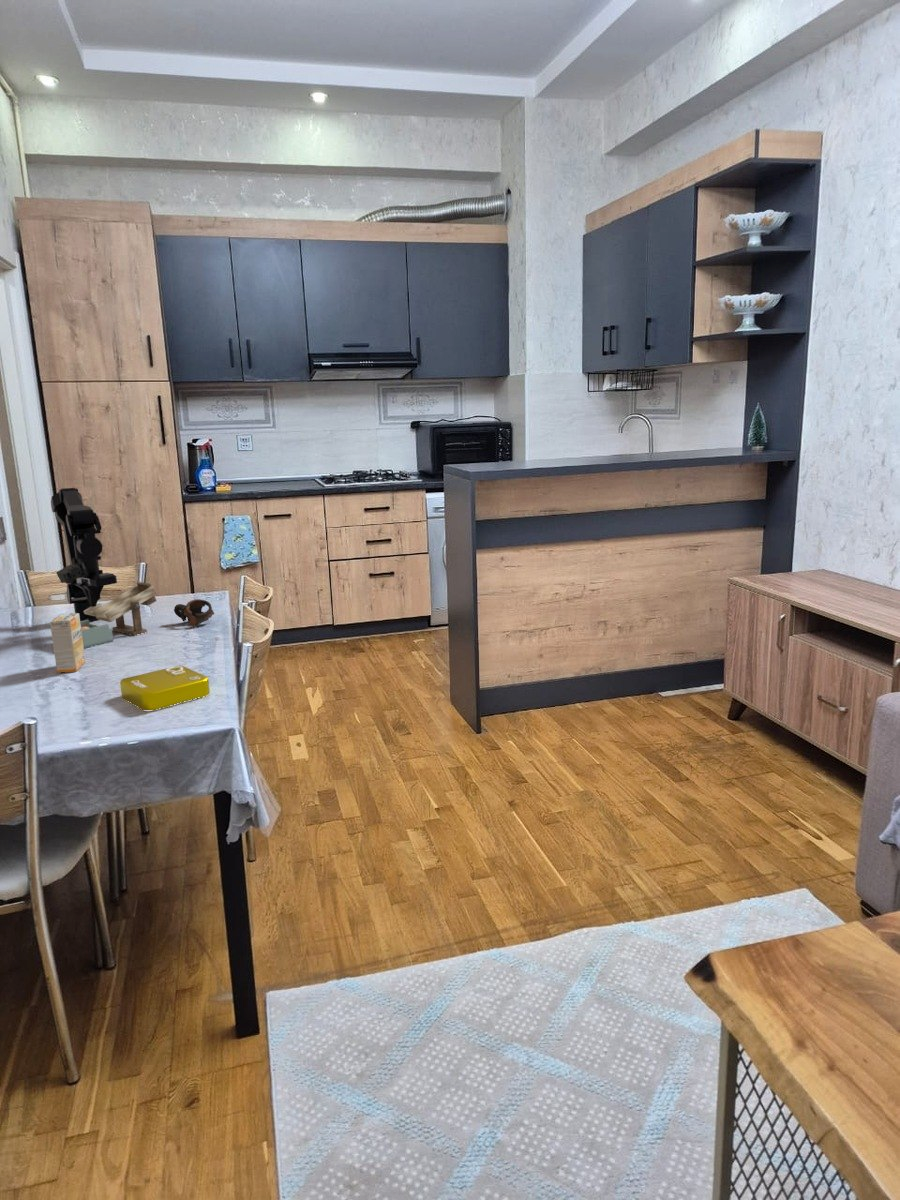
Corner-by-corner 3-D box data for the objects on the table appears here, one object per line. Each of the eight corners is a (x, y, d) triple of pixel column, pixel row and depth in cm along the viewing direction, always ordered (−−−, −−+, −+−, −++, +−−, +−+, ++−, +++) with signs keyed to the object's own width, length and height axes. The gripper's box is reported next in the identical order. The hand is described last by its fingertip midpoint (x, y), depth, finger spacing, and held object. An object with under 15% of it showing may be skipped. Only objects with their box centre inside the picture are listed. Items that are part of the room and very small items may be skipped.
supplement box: (77, 672, 195) (70, 620, 192) (56, 673, 194) (48, 621, 191) (86, 662, 203) (79, 612, 200) (66, 663, 202) (59, 613, 199)
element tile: (119, 698, 176) (116, 677, 175) (183, 681, 186) (181, 662, 185) (146, 714, 165) (144, 693, 164) (213, 696, 175) (211, 675, 174)
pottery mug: (217, 619, 245) (218, 599, 240) (208, 640, 237) (208, 620, 232) (177, 611, 244) (178, 591, 238) (167, 632, 236) (167, 611, 231)
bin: (56, 645, 219) (53, 627, 218) (92, 636, 228) (90, 619, 226) (77, 650, 213) (74, 632, 212) (113, 641, 221) (111, 623, 220)
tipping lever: (129, 594, 242) (122, 579, 240) (159, 600, 234) (151, 584, 231) (84, 621, 232) (76, 605, 229) (113, 628, 223) (105, 611, 221)
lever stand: (125, 627, 236) (121, 596, 234) (146, 632, 229) (143, 600, 227) (112, 630, 233) (108, 599, 231) (134, 635, 226) (130, 603, 224)
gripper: (41, 555, 226) (49, 608, 230) (76, 560, 215) (84, 616, 219) (78, 549, 235) (85, 601, 238) (114, 554, 224) (121, 607, 228)
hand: (93, 606), depth 231 cm, fingers closed
